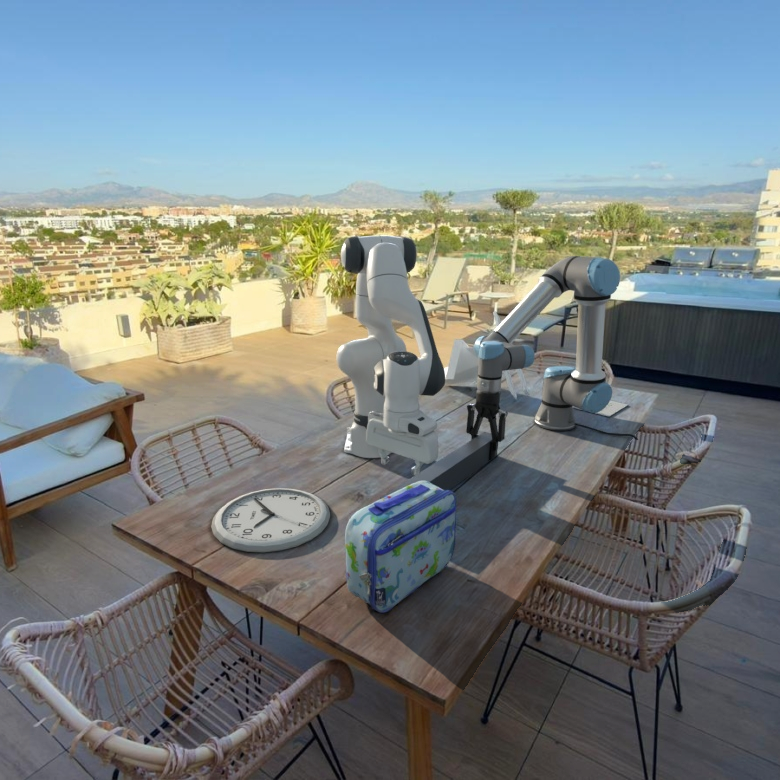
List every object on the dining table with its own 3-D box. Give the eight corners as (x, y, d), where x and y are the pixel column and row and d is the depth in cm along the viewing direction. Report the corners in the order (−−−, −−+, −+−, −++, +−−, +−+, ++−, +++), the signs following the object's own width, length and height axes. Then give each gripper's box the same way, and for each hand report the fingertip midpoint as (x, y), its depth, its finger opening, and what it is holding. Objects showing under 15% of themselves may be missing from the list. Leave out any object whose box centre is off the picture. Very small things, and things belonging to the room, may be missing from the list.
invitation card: (608, 416, 214) (573, 407, 224) (608, 416, 214) (573, 408, 224) (628, 404, 229) (594, 396, 238) (628, 405, 229) (594, 397, 238)
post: (482, 451, 179) (484, 431, 177) (496, 455, 176) (498, 435, 174) (379, 522, 135) (380, 497, 133) (396, 529, 132) (396, 503, 130)
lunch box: (374, 626, 100) (375, 530, 93) (338, 598, 107) (337, 508, 101) (459, 568, 117) (465, 484, 111) (424, 547, 124) (427, 467, 118)
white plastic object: (461, 429, 252) (437, 405, 227) (444, 352, 274) (420, 323, 250) (535, 404, 240) (518, 377, 215) (510, 326, 262) (492, 293, 237)
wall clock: (328, 544, 122) (196, 548, 120) (328, 550, 123) (197, 554, 120) (331, 483, 151) (225, 486, 148) (331, 488, 151) (225, 491, 149)
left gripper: (360, 412, 132) (360, 462, 136) (428, 431, 121) (426, 485, 125) (376, 405, 137) (375, 454, 141) (443, 423, 125) (440, 475, 130)
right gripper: (457, 387, 169) (453, 453, 176) (510, 398, 159) (503, 468, 166) (468, 382, 175) (464, 446, 182) (520, 392, 164) (513, 460, 171)
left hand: (400, 469), depth 133 cm, fingers open, 8 cm apart
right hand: (483, 456), depth 174 cm, fingers closed on post, 5 cm apart
